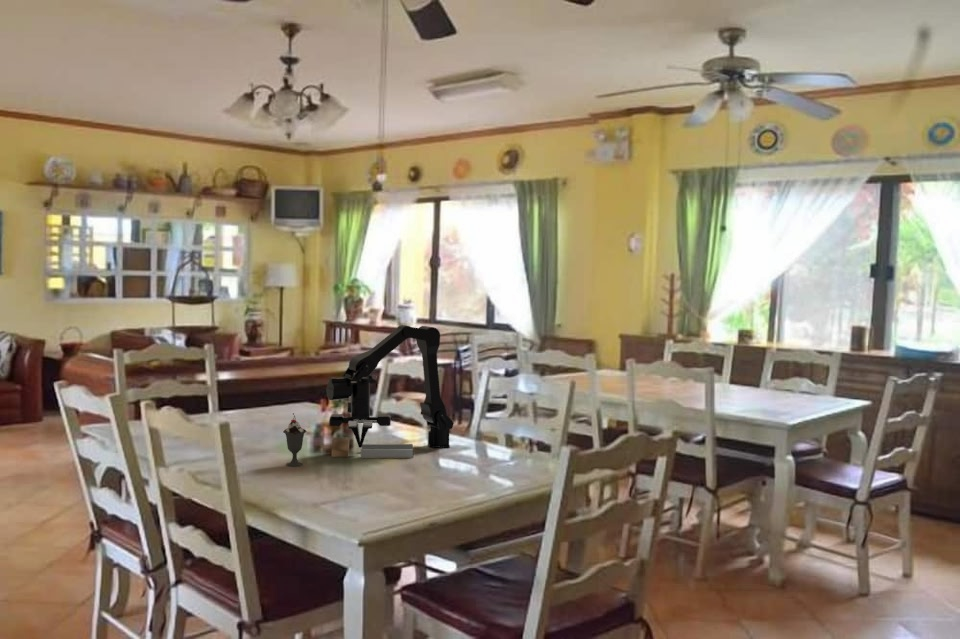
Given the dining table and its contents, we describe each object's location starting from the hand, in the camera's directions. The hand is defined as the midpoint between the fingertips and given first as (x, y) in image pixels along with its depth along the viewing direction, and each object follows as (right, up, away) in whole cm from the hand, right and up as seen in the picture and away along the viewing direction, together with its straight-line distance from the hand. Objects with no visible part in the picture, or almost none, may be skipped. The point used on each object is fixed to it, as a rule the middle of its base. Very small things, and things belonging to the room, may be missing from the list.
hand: (360, 447), depth 264 cm
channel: (+8, -2, +1) cm, 9 cm away
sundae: (-17, -3, -15) cm, 23 cm away
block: (-6, -2, -1) cm, 7 cm away
